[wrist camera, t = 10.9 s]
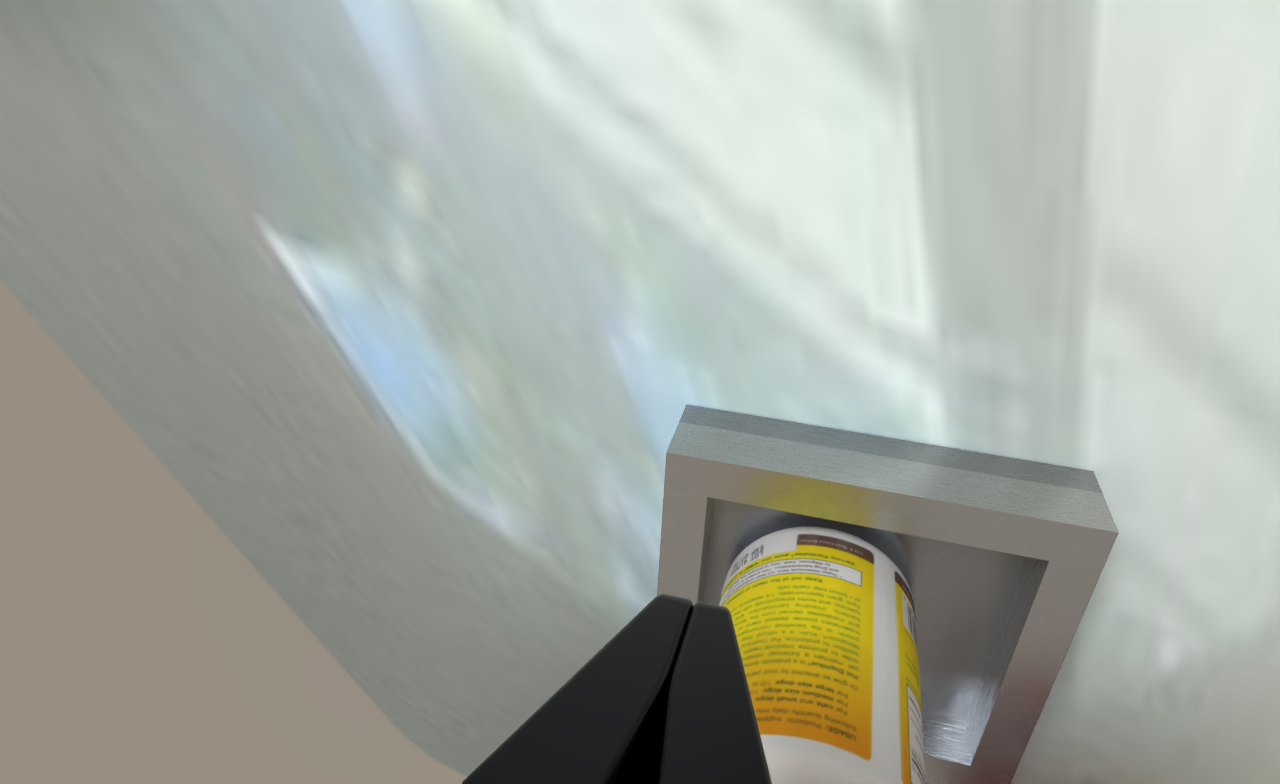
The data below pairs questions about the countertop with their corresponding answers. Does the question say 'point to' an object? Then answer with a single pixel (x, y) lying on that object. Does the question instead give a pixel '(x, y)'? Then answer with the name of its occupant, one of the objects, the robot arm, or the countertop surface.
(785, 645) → the supplement bottle
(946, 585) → the square metal tray
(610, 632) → the countertop surface
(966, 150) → the countertop surface
